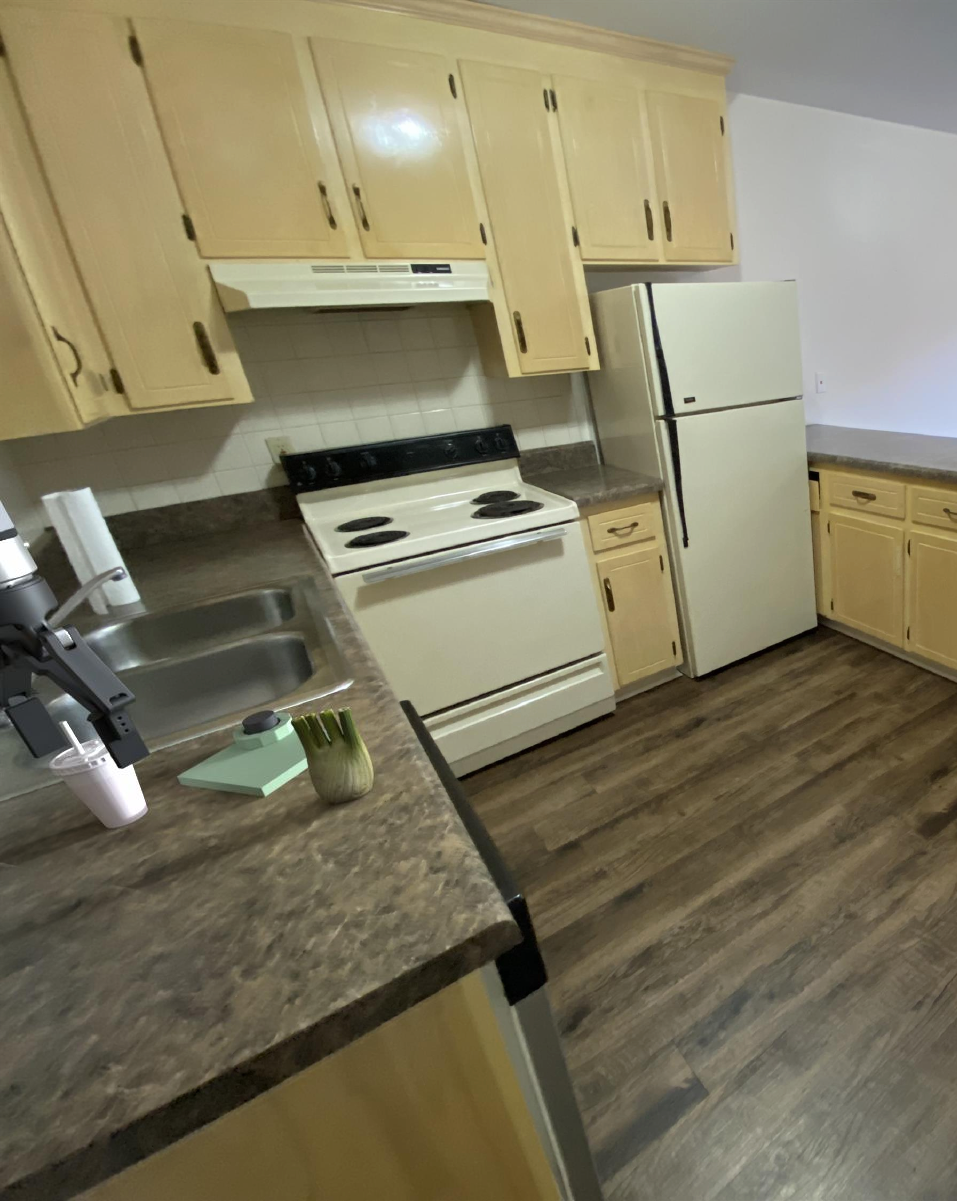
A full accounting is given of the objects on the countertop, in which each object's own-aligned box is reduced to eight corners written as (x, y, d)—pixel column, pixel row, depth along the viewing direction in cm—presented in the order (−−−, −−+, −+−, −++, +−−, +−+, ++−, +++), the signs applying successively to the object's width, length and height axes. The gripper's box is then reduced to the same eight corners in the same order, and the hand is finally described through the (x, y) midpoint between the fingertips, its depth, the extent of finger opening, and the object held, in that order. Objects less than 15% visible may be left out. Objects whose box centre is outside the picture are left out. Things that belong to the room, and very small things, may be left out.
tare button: (240, 734, 89) (234, 723, 88) (265, 719, 92) (260, 709, 92) (260, 736, 88) (255, 725, 88) (285, 721, 91) (280, 711, 91)
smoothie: (76, 833, 76) (11, 733, 71) (138, 797, 82) (82, 701, 76) (115, 840, 75) (52, 738, 69) (176, 802, 80) (122, 705, 75)
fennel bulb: (386, 783, 81) (354, 701, 77) (358, 810, 77) (322, 724, 72) (343, 782, 82) (309, 701, 77) (313, 809, 77) (275, 724, 73)
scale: (179, 785, 84) (169, 766, 82) (274, 728, 95) (266, 711, 94) (265, 797, 80) (255, 777, 79) (353, 737, 92) (345, 719, 90)
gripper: (118, 573, 67) (207, 745, 75) (-41, 569, 73) (58, 729, 81) (23, 602, 60) (132, 788, 68) (-143, 595, 66) (-24, 766, 74)
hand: (92, 756), depth 75 cm, fingers open, 13 cm apart
